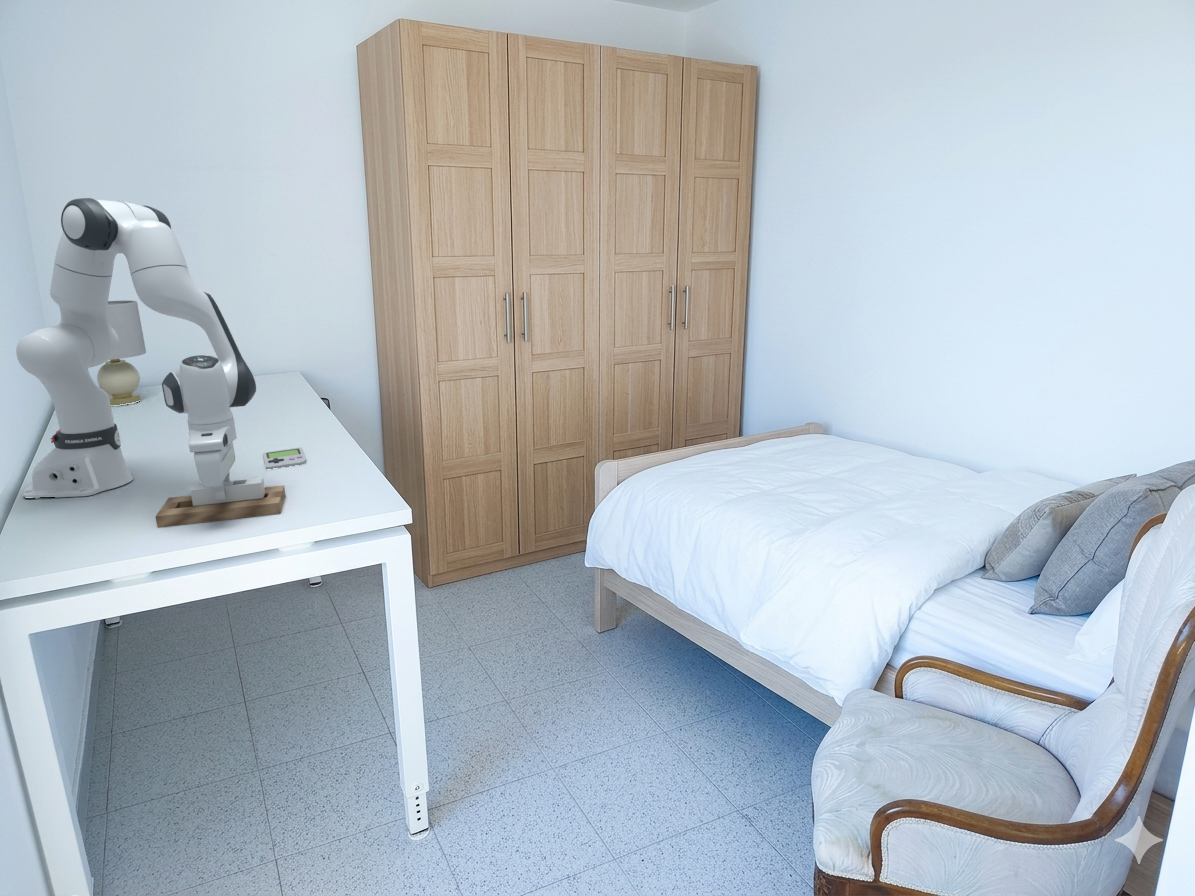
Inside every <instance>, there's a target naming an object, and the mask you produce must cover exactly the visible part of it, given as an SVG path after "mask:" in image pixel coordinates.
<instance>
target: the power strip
mask: <svg viewBox="0 0 1195 896" xmlns="http://www.w3.org/2000/svg"><path fill="white" fill-rule="evenodd" d="M223 485H224V489H225V491H226V497H225V499H221V500H217V499H216V495H215V492H214V490H213V487H212V488H203V486H202V485H201V483H199V484H193V486H192V487H191V489H190V490H189V491H190V495H191V497H192V503H193V506H198V505H207V504H215V503H224V502H233V501H242V500H251V499H260V498H263V497H264V495H265V487H266V486H265V482H264V477H255V478H246V479H235V481H234V480H230V481H225V482H224V483H223Z"/></svg>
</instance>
